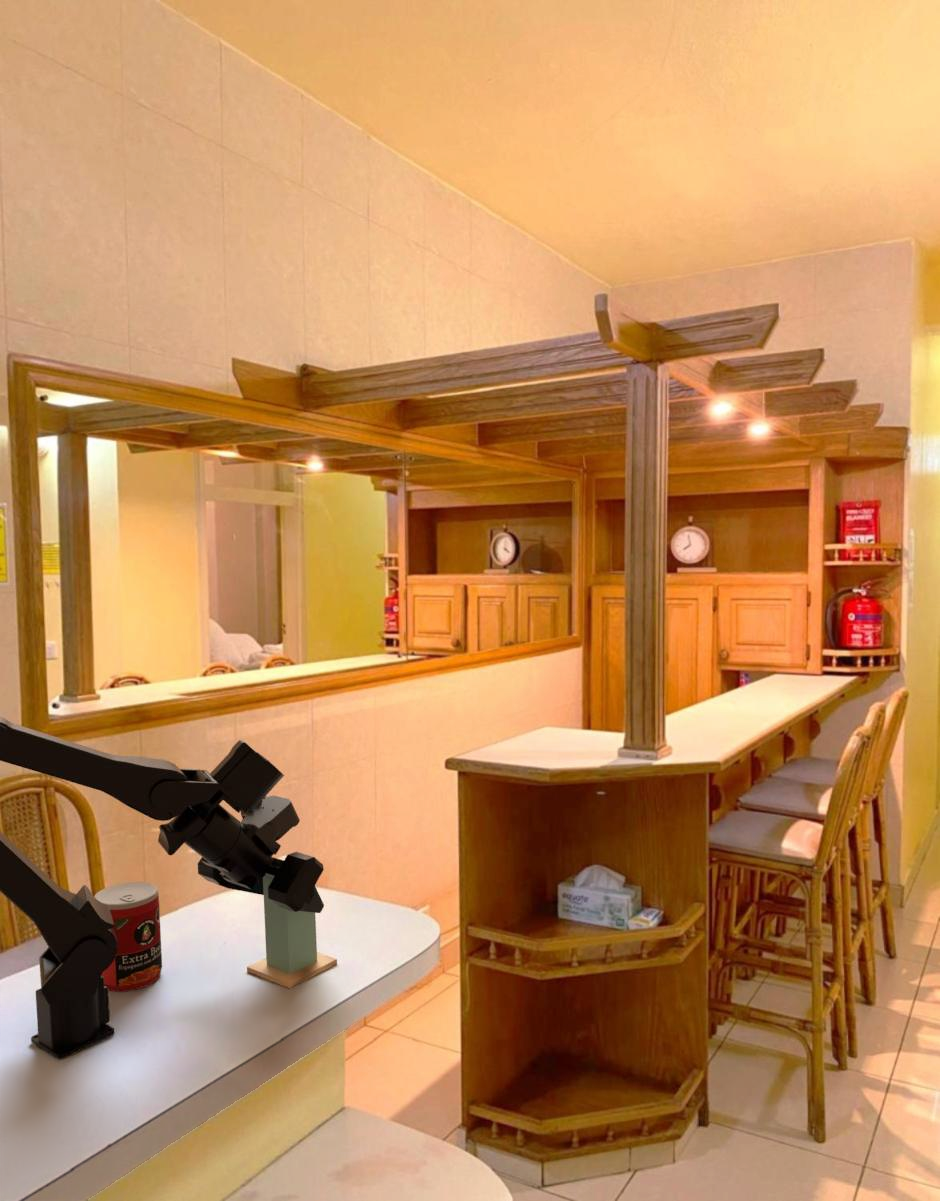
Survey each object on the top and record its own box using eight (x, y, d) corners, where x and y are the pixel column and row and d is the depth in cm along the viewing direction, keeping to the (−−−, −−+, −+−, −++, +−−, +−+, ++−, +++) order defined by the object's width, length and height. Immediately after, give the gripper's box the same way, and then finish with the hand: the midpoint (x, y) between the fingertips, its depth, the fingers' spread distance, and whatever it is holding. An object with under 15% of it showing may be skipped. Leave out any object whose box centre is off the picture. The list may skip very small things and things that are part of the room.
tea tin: (289, 974, 114) (285, 871, 113) (265, 964, 117) (261, 863, 116) (318, 961, 117) (314, 860, 117) (294, 951, 120) (290, 853, 120)
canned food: (121, 999, 110) (116, 909, 110) (85, 981, 115) (80, 895, 114) (175, 974, 116) (171, 889, 116) (139, 958, 121) (135, 877, 121)
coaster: (289, 988, 112) (289, 983, 111) (247, 971, 116) (246, 966, 116) (337, 963, 118) (336, 959, 118) (295, 948, 123) (294, 944, 123)
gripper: (307, 792, 107) (379, 859, 116) (213, 771, 119) (284, 833, 128) (255, 878, 101) (334, 941, 110) (161, 847, 113) (240, 906, 122)
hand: (297, 900), depth 118 cm, fingers open, 9 cm apart
